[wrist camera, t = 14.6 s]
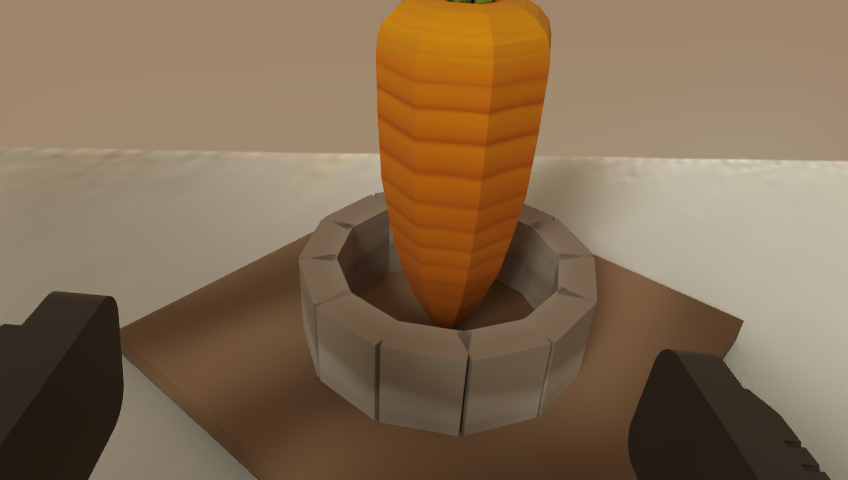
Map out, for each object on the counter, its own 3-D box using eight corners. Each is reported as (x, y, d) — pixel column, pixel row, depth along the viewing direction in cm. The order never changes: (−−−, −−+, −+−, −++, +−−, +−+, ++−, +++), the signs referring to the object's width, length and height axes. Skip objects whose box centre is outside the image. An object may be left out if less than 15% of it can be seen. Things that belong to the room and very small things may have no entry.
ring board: (121, 352, 23) (95, 259, 21) (419, 195, 33) (422, 122, 31) (494, 696, 14) (517, 600, 12) (735, 340, 25) (770, 254, 23)
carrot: (389, 386, 21) (394, -173, 13) (367, 293, 25) (360, -175, 17) (536, 367, 22) (629, -163, 13) (491, 280, 26) (543, -168, 18)
